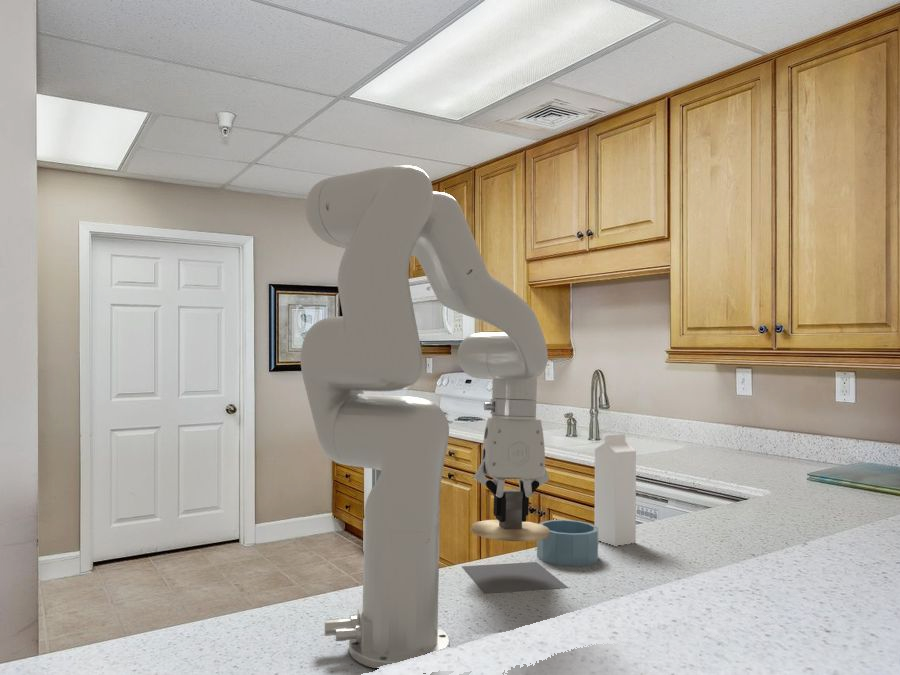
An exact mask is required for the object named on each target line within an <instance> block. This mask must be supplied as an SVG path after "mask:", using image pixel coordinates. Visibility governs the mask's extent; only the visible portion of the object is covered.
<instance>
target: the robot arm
mask: <svg viewBox="0 0 900 675" xmlns="http://www.w3.org/2000/svg"><path fill="white" fill-rule="evenodd" d="M304 210H305V217H306V220H307V222H308V225H309V227H310V228H311V230H312V231H313V233H314V234H315V235H316V236H317V237H318V238H319V239H320V240H321V241H324V242H326V243H327V244H328V245H331V246H334V247H337V248H342V249H345V250H344V252H343V255H342V257H341V260H340V263H339V267H338V271H337V289H338V297H339V300H340V307H341V313H342V316H341V315H340V316H330V317H327V318H323V319H320V320H318V321H316V322H315V323H314V324H313V325H311V327H310V328H309V329H308V331H307V332H306V334H305V336H304V339H303V340H302V341H303V342H302V345H301V351H300V368H301V373H302V379H303V383H304V389H305V390H306V391H305V392H306V396H307V400H308V403H309V407H310V411H311V415H312V420H313V423H314V427H315V431H316V434H317V439H318V441H319V442H318V443H319V444H320V447H321V448H322V451H323V452H324V454H325V455H326V456H327V458H329V459H330V460H331V461H332V462H334V463H337V464H340V465H344V466H348V467H349V466H350V467H356V468H366V469H371V470H373V469H374V470H377V471H380V474H379V476H378V478H377V481H376V482H375V483H374V485H373V486H372V488H371V490H370V492H369V493H368V496H367V498H366V501H365V506H364V512H363V513H364V514H363V516H364V517H363V524H364V525H363V526H364V528H363V530H364V532H363V533H364V534H363V570H362V571H363V572H362V574H363V575H362V576H363V577H362V581H363V582H362V606H358V607H357V614H351V615H350V616H349V618H340V617H339V618H338V617H337V618H325V619H324V636H325V637H329V636H335V641H336V642H344V641H345V642H346V641H348V652H349V655H350V656H351V657H352V659H353V660H355V661H356V662H358V663H360V664H361V665H364V666H366V667H368V668H372V669H375V668H377V667H380V666H383V665H387V664H392V663H397V662H400V661H404V660H407V659H410V658H414V657H418V656H421V655H425V654H427V653H430V652H433V651H436V650H440V649H443V648H447V647H450V645H451V640H450V637H449V635H448V634H447V633H446V632H445V631H444V630H443V629H442V628H439V579H440V578H439V576H440V573H439V572H440V570H439V569H440V517H441V516H440V515H441V514H440V511H441V510H440V509H441V507H440V506H441V488H442V478H443V471H444V466H445V460H446V455H447V450H448V444H449V439H450V427H449V426H450V425H449V421H448V418H447V416H446V414H445V412H444V411H443V409H442V408H441V407H440V406H439V405H437V404H436V403H434V402H433V401H431V400H428V399H425V398H422V397H416V396H408V395H407V396H406V395H389V394H388V395H387V394H386V395H385V394H383V395H375V394H373V395H372V394H365V392H377V393H378V392H380V393H381V392H384V393H385V392H397V391H402V390H406V389H409V388H411V387H412V386H413V385H415V384H416V383H417V382H418V381H419V379H420V377H421V375H422V370H423V354H422V347H421V346H422V345H421V340H420V336H419V332H418V331H419V330H418V325H417V324H418V323H417V321H416V320H417V319H416V315H415V309H414V305H413V300H412V299H413V298H412V293H411V288H410V280H409V278H410V277H409V274H410V273H409V272H410V271H409V270H410V269H409V268H410V262H411V258H412V256H413V257H415V258H416V259H417V261H418V262H419V265H420V266H421V269H422V270H423V272H424V275H425V276H426V279H427V280H428V282H429V284H430V288H431V289H432V291H433V293H434V295H435V297H436V299H437V301H438V302H439V304H441V305H442V306H444V307H446V308H447V309H450V310H452V311H454V312H457V313H459V314H462V315H463V316H464V315H465V316H467V317H470V318H473V319H476V320H479V321H481V322H484V323H487V324H488V325H491V326H493V327H495V328H497V329H499V330H500V331H499V332H498V331H497V332H476V333H473V334H470V335H468V336H466V337H465V338H464V339H463V340H462V341H461V343H460V344H459V346H458V350H457V361H458V364H459V367H460V368H461V369H462V371H463V373H465V374H466V375H467V376H469V377H471V378H474V379H480V380H481V379H483V380H492V385H491V386H492V389H491V390H492V392H491V399H490V401H489V402H484V404H483V410H484V411H488V412H490V414H491V417H489V416H488V417H487V421H486V425H485V430H484V433H483V434H484V436H483V440H482V441H483V442H482V449H481V460H480V461H481V463H480V464H479V466H478V468H477V470H476V471H475V474H474V475H473V479H474V481H476V482H478V483H479V484H482V485H483V486H485V487H486V488H487V489H488V491H490V493H491V495H493V510H492V511H493V516H495V520H498V521H500V522H504V521H505V520H506V499H505V497H504V493H503V492H504V490H505V482H506V480H518V486H519V491H521V492H523V499H522V522H527V517H528V516H529V511H530V510H529V509H530V508H529V506H530V498H531V497H532V495H533V493H534V492H535V491H536V490H537V489H538V488H539V487H540V486H543V485H544V484H545V483H547V482H549V481H550V476H549V474H548V471H547V470H546V453H545V452H546V450H545V439H544V438H545V437H544V431H543V424H542V420H541V419H539V418H537V394H538V393H537V390H538V387H537V386H538V385H537V384H538V378H539V377H540V376H541V375H542V374H543V373H544V372H545V370H546V369H547V365H548V357H549V356H548V346H547V343H546V339H545V335H544V333H543V330H542V328H541V325H540V322H539V319H538V317H537V314H535V311H534V310H533V309H532V307H531V306H530V305H529V304H528V303H527V302H526V301H525V300H524V299H523V298H521V296H520V295H518V294H517V293H516V292H514V291H513V290H512V289H511V288H510V287H508V286H506V285H505V284H504V283H502V282H501V281H499V280H497V279H496V278H494V277H493V276H492V275H491V274H490V273H489V271H488V269H487V266H486V263H485V262H484V259H483V257H482V255H481V252H480V250H479V247H478V245H477V242H476V240H475V238H474V236H473V233H472V230H471V228H470V226H469V224H468V221H467V219H466V216H465V214H464V212H463V210H462V208H461V205H460V204H459V202H458V200H456V199H455V198H454V197H453V196H452V195H450V194H448V193H446V192H442V191H441V192H439V191H434V188H433V184H432V180H431V178H430V177H429V175H428V174H427V173H426V172H425V171H424V170H423V169H421V168H420V167H417V166H412V165H403V164H401V165H390V166H383V167H378V168H372V169H367V170H362V171H358V172H351V173H347V174H346V173H345V174H341V175H335V176H331V177H327V178H324V179H322V180H319V181H318V182H317V183H315V184H314V185H313V186H312V187H311V189H310V190H309V192H308V194H307V196H306V200H305V205H304ZM486 476H489V477H490V478H492V480H491V479H489V478H488V477H486Z"/></svg>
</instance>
